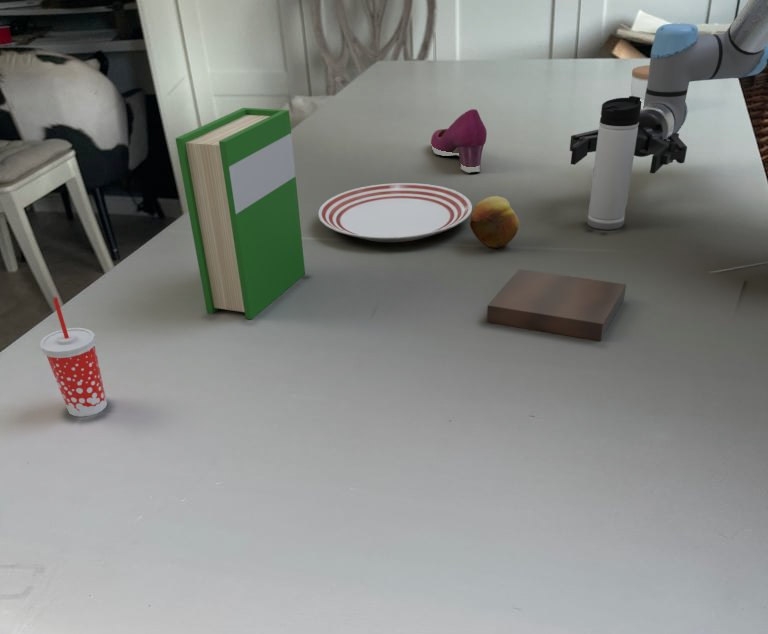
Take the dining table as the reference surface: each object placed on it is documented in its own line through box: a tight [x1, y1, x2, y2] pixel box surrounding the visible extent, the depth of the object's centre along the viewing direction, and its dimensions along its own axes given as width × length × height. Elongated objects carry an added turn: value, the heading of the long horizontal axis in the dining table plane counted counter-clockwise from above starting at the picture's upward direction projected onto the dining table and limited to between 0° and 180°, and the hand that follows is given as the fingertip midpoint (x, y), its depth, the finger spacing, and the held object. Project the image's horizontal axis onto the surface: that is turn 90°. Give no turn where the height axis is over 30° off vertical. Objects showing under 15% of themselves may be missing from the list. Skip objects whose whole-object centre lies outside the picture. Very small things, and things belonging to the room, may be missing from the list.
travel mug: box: [586, 95, 642, 231], centre depth 136 cm, size 6×7×20 cm
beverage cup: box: [39, 296, 108, 418], centre depth 94 cm, size 6×6×14 cm
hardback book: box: [174, 107, 306, 320], centre depth 116 cm, size 18×7×24 cm, turn 158°
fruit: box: [469, 195, 520, 249], centre depth 133 cm, size 8×8×8 cm
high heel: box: [430, 108, 488, 174], centre depth 174 cm, size 9×26×12 cm, turn 18°
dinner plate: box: [317, 182, 473, 243], centre depth 145 cm, size 27×27×3 cm
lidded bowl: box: [630, 64, 650, 100], centre depth 204 cm, size 13×13×11 cm
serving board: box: [486, 268, 627, 342], centre depth 114 cm, size 16×14×2 cm
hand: (612, 160), depth 135 cm, fingers open, 13 cm apart
